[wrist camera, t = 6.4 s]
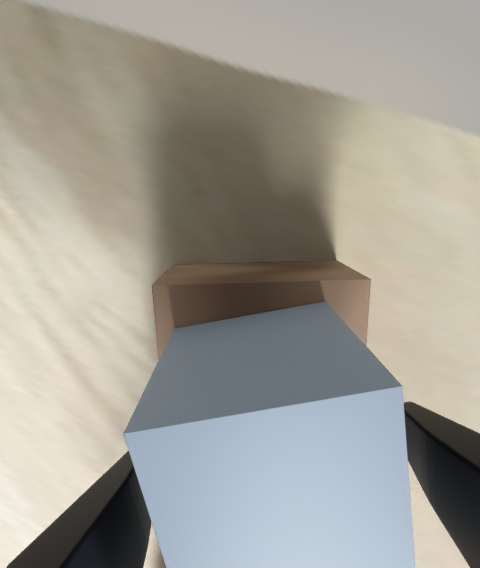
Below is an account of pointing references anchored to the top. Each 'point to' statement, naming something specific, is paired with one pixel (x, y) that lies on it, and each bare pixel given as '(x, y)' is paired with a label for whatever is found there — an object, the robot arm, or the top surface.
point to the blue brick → (274, 447)
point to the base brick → (256, 293)
